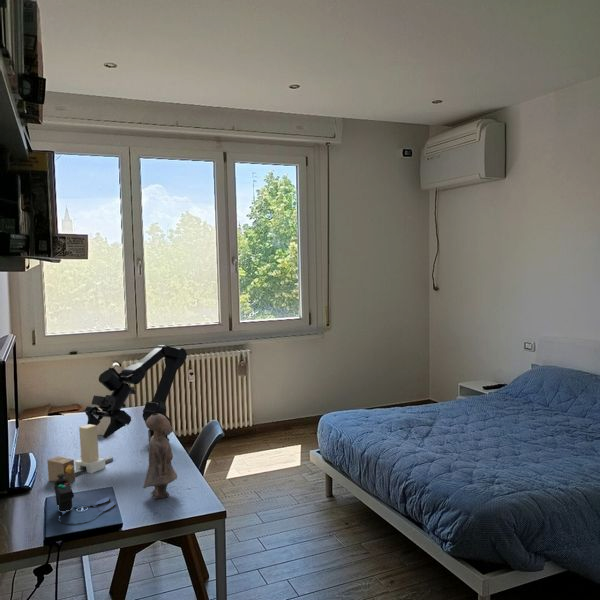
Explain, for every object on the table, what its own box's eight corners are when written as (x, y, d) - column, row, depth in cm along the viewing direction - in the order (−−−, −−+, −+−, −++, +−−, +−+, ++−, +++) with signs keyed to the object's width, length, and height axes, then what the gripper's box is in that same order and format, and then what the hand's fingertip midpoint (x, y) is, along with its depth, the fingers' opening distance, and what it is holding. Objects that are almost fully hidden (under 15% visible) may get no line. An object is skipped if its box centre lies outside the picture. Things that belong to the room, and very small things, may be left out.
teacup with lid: (117, 433, 233) (115, 406, 232) (94, 437, 229) (92, 409, 228) (111, 426, 243) (109, 400, 243) (89, 430, 239) (87, 403, 238)
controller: (69, 502, 165) (67, 470, 164) (77, 518, 154) (74, 483, 154) (53, 506, 163) (51, 473, 162) (60, 522, 152) (57, 487, 152)
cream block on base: (90, 464, 197) (87, 422, 196) (105, 467, 193) (102, 425, 192) (75, 469, 192) (72, 427, 191) (91, 473, 188) (88, 430, 187)
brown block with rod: (103, 458, 202) (102, 439, 202) (120, 462, 198) (118, 442, 198) (48, 480, 183) (47, 460, 182) (65, 485, 179) (64, 464, 178)
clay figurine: (182, 499, 164) (178, 416, 162) (148, 507, 160) (143, 422, 158) (172, 484, 176) (168, 407, 174) (140, 491, 171) (135, 412, 170)
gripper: (87, 383, 202) (62, 421, 194) (123, 388, 193) (99, 427, 184) (105, 400, 210) (82, 437, 201) (141, 405, 200) (119, 443, 192)
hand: (95, 436), depth 194 cm, fingers open, 9 cm apart
